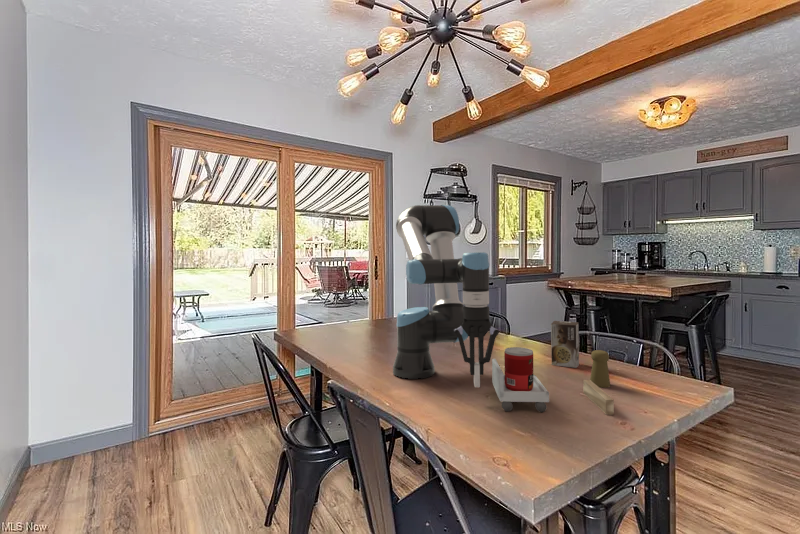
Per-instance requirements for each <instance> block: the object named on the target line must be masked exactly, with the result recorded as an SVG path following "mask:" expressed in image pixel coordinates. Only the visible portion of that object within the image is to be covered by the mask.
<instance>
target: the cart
mask: <svg viewBox="0 0 800 534" xmlns="http://www.w3.org/2000/svg"><path fill="white" fill-rule="evenodd" d="M491 363H492V364H491V378H492V379H491V382H492V385H493V388H494V391H495V393H496V396H497V397H498V399H499V402H501V408H502V410H503V411H505V412H511V411H512V410H513V404H512V403H513V402H514V403H515V402H517V403H521V402H522V403H534V406H535V407H534V408H535V409H536V410H537V412H540V413H544V412H546V410H547V409H548V407H547V404H546V403H550V392H549V390H547V388H546V387H545V385H543V383H542V382H541V380H540V379H539V378H538V376H537V375H535V374H533V389H532V390H531V391H511V390H509V389H507V388H506V386H505V373H504V372H503V370H502V369H501V367H500V365H499V363H498V361H497V359H496V358H492V359H491Z"/></svg>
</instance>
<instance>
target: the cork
mask: <svg viewBox="0 0 800 534" xmlns="http://www.w3.org/2000/svg"><path fill="white" fill-rule="evenodd" d="M590 357H591V360H592V364H591V370H590V371H591V372H590V379H589V380H591V381H592V382H593V383H594V384H596V385H597V386H598V387H599V388H601V389H602V388H603V389H604V388H605V389H606V388H610V387H611V381H610V373H609V366H608V362H609V359H610V353H608V351H605V350H601V349H596V350H595V349H594V350H593V351H591V354H590Z"/></svg>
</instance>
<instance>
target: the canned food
mask: <svg viewBox="0 0 800 534" xmlns="http://www.w3.org/2000/svg"><path fill="white" fill-rule="evenodd" d="M503 357H504V358H503V359H504V375H505V386H506V388H507V389H509V390H511V391H531V390H532V389H533V375H534V350H533V349H530V348H526V347H522V346H521V347H520V346H519V347H518V346H517V347H516V346H511V347H506V348H505V349H504V356H503Z"/></svg>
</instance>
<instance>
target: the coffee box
mask: <svg viewBox="0 0 800 534" xmlns="http://www.w3.org/2000/svg"><path fill="white" fill-rule="evenodd" d="M579 325H580V323H579V322H577V321H565V320H563V321H562V320H554V321H552V323H550V338H551V339H550V340H551V344H550V345H551V351H550V352H551V363H550V365H551V366H557V367H566V368H573V369H574V368H575V369H577V368H578V367H579V365H580V346H579V345H580V340H579V339H580V336H579V333H580V332H579V328H580V327H579Z"/></svg>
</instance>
